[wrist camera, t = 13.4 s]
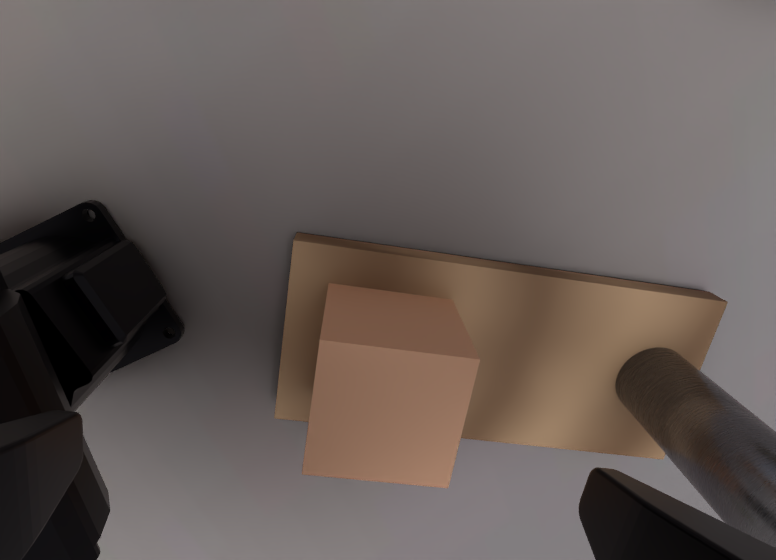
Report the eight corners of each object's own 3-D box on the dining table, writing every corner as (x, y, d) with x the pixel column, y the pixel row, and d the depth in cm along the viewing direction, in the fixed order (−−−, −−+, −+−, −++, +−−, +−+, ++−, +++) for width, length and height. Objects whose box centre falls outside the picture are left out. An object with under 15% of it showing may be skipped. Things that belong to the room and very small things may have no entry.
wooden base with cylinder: (278, 402, 23) (193, 732, 11) (296, 232, 21) (211, 423, 9) (649, 443, 25) (917, 762, 13) (709, 291, 23) (1110, 516, 11)
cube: (313, 392, 22) (301, 474, 17) (328, 282, 20) (319, 339, 15) (429, 405, 22) (448, 488, 18) (452, 299, 21) (480, 359, 16)
